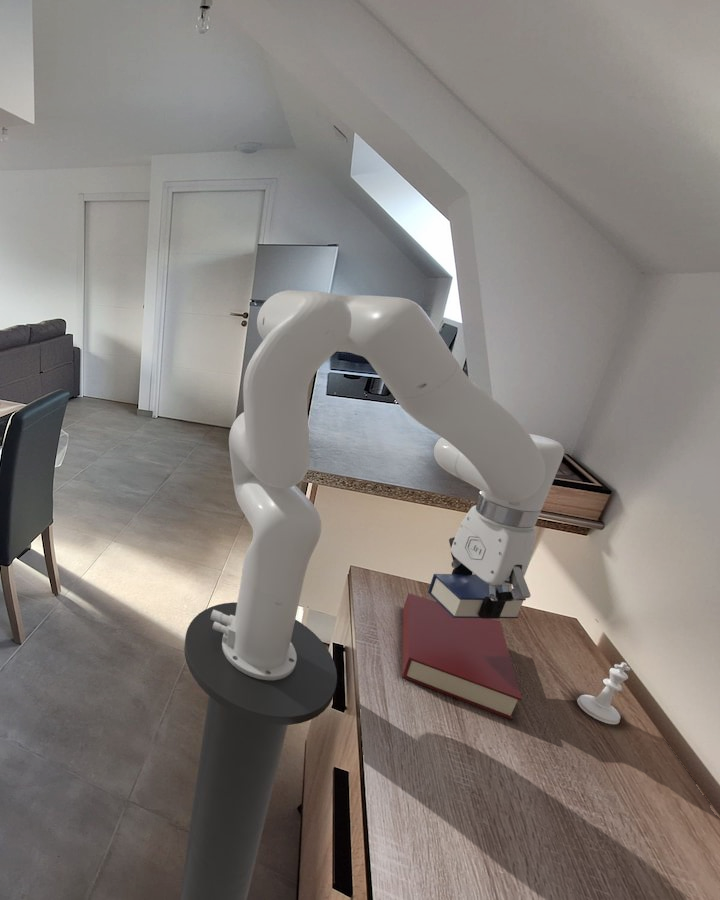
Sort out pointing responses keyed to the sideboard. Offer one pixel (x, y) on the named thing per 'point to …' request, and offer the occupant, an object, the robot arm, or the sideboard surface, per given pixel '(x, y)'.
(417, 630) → the hardback
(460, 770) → the sideboard surface
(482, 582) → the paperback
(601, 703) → the chess piece
